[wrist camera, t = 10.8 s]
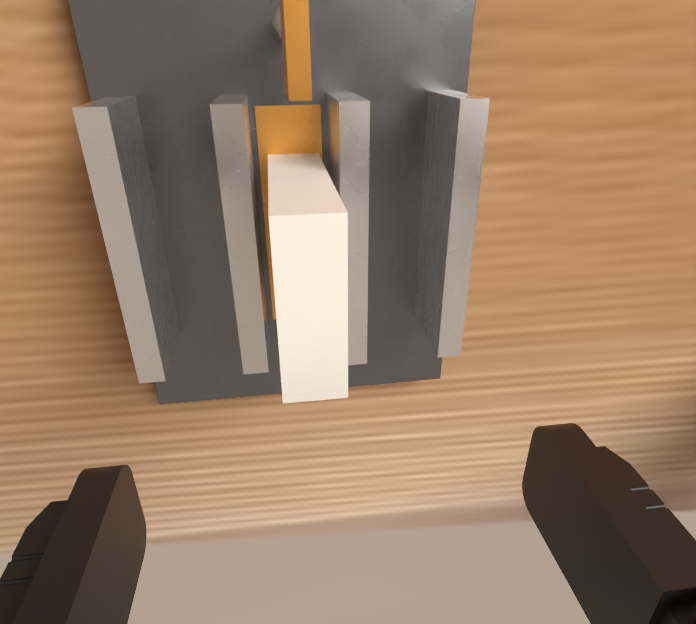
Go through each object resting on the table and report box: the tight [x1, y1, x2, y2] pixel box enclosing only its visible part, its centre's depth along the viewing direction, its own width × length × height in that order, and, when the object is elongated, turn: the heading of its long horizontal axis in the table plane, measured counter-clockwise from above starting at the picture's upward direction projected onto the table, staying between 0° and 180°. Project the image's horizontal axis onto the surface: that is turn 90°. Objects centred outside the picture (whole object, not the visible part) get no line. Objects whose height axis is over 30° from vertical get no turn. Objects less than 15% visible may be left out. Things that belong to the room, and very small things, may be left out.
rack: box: [68, 0, 490, 404], centre depth 22 cm, size 17×21×12 cm
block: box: [268, 153, 348, 403], centre depth 21 cm, size 2×7×10 cm, turn 0°
